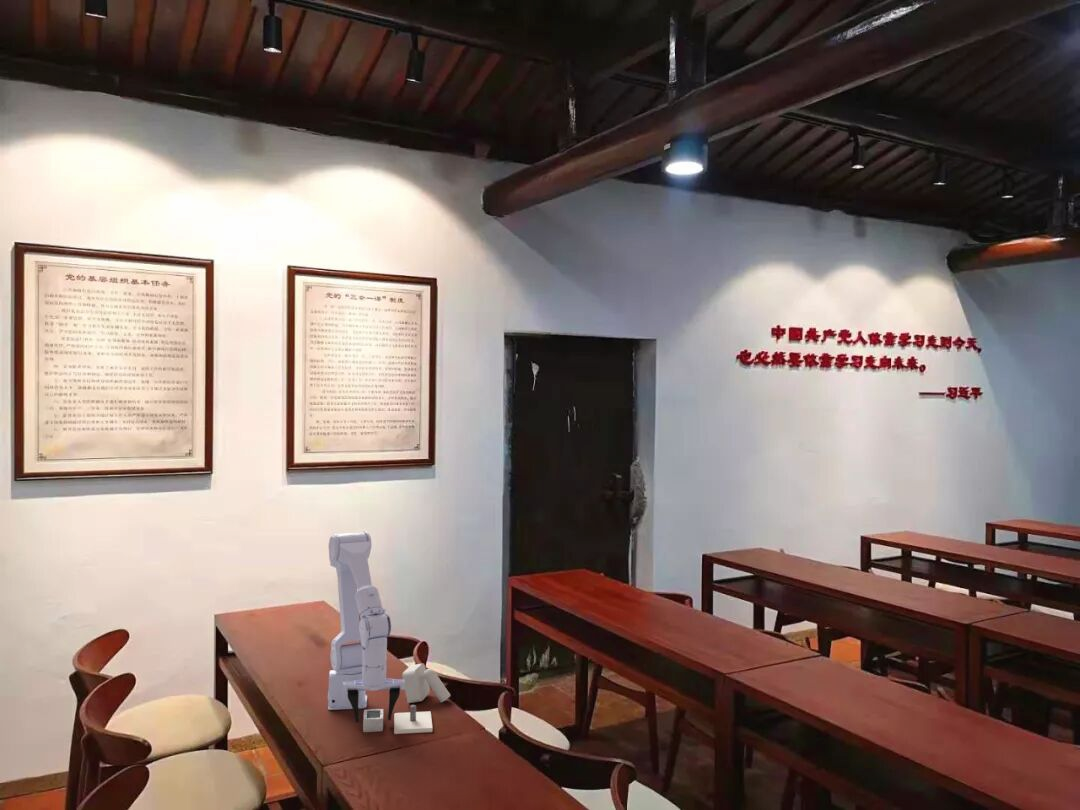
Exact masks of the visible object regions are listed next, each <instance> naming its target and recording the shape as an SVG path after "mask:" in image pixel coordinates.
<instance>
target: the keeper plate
mask: <svg viewBox="0 0 1080 810" xmlns="http://www.w3.org/2000/svg"><path fill="white" fill-rule="evenodd" d="M393 716H394V717H393V721H394V723H393V724H394V725H393V728H394V729H393V733H394V735H400V734H417V733H419V734H420V733H432V732H433V721H432V713H431V710H430V711H429V710H428V711H417V705H416V704H411V705H410V710H409V712H395V713H394V714H393Z"/></svg>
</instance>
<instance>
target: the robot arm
mask: <svg viewBox="0 0 1080 810" xmlns="http://www.w3.org/2000/svg"><path fill="white" fill-rule="evenodd" d="M371 551H372V538H371V534H369V532H367V531H362V532H351V533H349V532H348V533H333V534H332V535H331V536H330V537H329V542H328V558H329V559H328V560H329V564H330V565H329V566H331V567H332V568H334V569H336V578H337V588H338V589H337V591H338V602H339V603H338V605H339V615H340V617H339V618H340V633H338V634H337V635H336V636H335V637H334V638H333V639H332V640H331V644H330V646H331V647H330V649H331V650H330V658H329V659H330V664H331V668H332V669H331V670H329V674H328V675H329V676H328V691H327V700H328V701H327V702H328V703H327V706H328V707H327V709H328V710H329V711H333V710H334V711H336V710H352V711H353V714H354V718H355V723H359V721H360V720H359V719H360V711H359V710H360V709H366V708H367V706H368V705H367V704H368V695H367V694H366V691H370V692H373V691H383V690H389V694H388V697H389V699H388V701H389V703H388V713H387V721H392V716H393V712H394V709H395V705H396V703H397V701H398V699H399V697H400V694H401V693H400V692H401V691H405V688H404V683H405V682H404V679H403V678H402V679H398V678H397V679H396V678H387V650H388V649H387V648H388V638H389V636H390V635H391V633H392V621H391V616H390V614H389V613H388V611H387V610H386V608H384V607H383V605H382V601H381V596H380V594H379V590H378V588H377V587H376V586H373V585H372V583H373V582H372V578H371V571H370V565H369V560H368V559H369V558H370V555H371ZM387 637H388V638H387ZM347 643H348V644H347ZM349 643H350V644H349Z"/></svg>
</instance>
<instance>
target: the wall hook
mask: <svg viewBox="0 0 1080 810" xmlns="http://www.w3.org/2000/svg"><path fill="white" fill-rule="evenodd" d="M401 678H402V679H404V682H405V683H404V693H405V697H406V701H407V703H408V704H412V703H418V702H422V701H424V700H425V698H426V697H427V696H429V694H430V688H431V690H432V691H433V692H434V694H435V696H436V697H437V699H438V701H440V703H443V702H445V701H446V700H448V699H449V698H450V697H451V693H450V692H449V691H448V689H447V688H446V686H445V685H444V683H443V681H441V679H440V677H439V676H438V674H437V673H436V671H435V670H434V669H432V668H427V669H426V666H425V663H418V664H412V665H411V664H410V665H409V667H407V668H406V669H405V670H404V671H403V672H402V677H401Z"/></svg>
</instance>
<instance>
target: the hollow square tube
mask: <svg viewBox="0 0 1080 810" xmlns="http://www.w3.org/2000/svg"><path fill="white" fill-rule="evenodd" d="M362 726H363V727H362V730H363V731H362V733H369V732H370V733H371V732H373V733H374V732H383V731H384V708H371V709H370V708H369V709H364V710H363V719H362Z"/></svg>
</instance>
